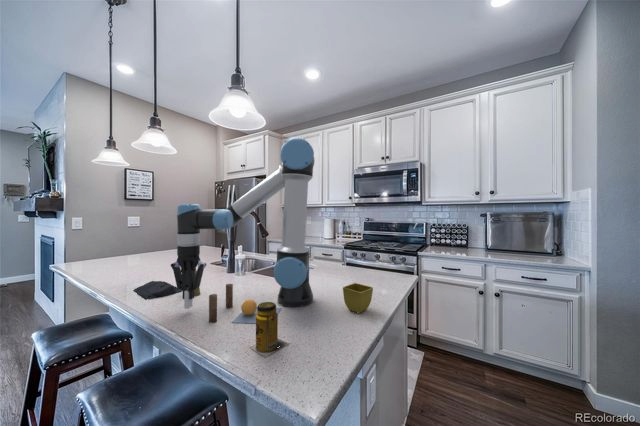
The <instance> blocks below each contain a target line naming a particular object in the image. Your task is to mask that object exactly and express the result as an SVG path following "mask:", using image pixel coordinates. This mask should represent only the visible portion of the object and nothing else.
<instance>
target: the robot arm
mask: <svg viewBox="0 0 640 426" xmlns="http://www.w3.org/2000/svg"><path fill="white" fill-rule="evenodd" d="M279 153H280V160H281V164H280V165H279V166H278V169H277V170H275V171H273V173H271V174H270V175H269V176H268V177H266V178H265V179H263V180H262V181H261V182H259V183H258V184H256V186H254V187H253V188H251V189H250V190H249V191H248V192H246V193H245V194H244V195H242V196H241V197H240V198H238V199H237V200H236V201H234V202H233V203H232V204H230V205H229V206H228V207H226V208H225V209H224V208H222V209H221V208H219V209H217V208H216V209H215V208H213V209H202V208H201V205H200V204H199V203H196V204H195V203H180V204H179V205H178V206H177V215H176V218H177V235H176V236H177V237H176V244H177V246H176V254H177V255H176V256H177V258H176V261H175V262H173V263H171V264H170V267H171V268H172V270H173V275H174V279H175V285H176V287H177V288H178V289H181V290H182V299H183V300H184V302H183V303H184V307H183V308H184V309H186V310H189V309H191V308H192V307H193V301H194V300H193V299H194V298H195V297H194V290H195V289H197V288H200V286H201V283H202V282H201V281H202V278H203V273H204V269H205V268H206V266H207V263H206V262H202V261H201V258H200V254H201V252H200V251H201V245H199V244H200V243H201V242H200V241H201V240H200V239H201V237H200V236H201V235H200V233H201V230H219V231H220V230H229V229H231V228H233V227H237V225H238V224H239V223H240V221H242V220H243V219H244V218H246V216H248V215H249V214H251V213H252V212H253V211H255V210H256V209H258V208H259V207H260V206H261V205H263V204H264V203H266V202H267V201H268V200H269V199H271V198H272V197H274V196H275V195H276V194H278V193H279V192H281V190H283V189H284V193H283V195H284V196H283V213H282V214H283V215H282V216H283V217H282V230H281V231H282V232H281V244H280V246H278V248H276V262H275V265H274V268H273V278H274V280H275V281H276V284H278V285H279V286H280V288H279V291H278V295H277V303H278V304H279V305H280V306H283V307H289V308H300V307H304V306H308V305H310V304H312V303H313V302H312V301H314V294H313V293H314V292H313V291H312V287H311V284H310V249H309V248H308V247H306V244H305V243H306V224H307V212H308V211H307V208H308V193H309V182H310V181H312V179H313V177H314V175H313V172H314V165H315V157H314V156H315V152H314V148H313V146H312V145H311V144H310V143H309V142H308V141H307V140H306V139H304V138H301V137H300V138H299V137H293V138H290V139H288V140H287V141H285V142H284V143H283V144H282V146H281V149H280V152H279ZM196 270H197V273H196V277H195V271H196Z"/></svg>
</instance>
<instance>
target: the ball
mask: <svg viewBox="0 0 640 426" xmlns="http://www.w3.org/2000/svg"><path fill="white" fill-rule="evenodd" d="M257 306H258V305H257V302H256V301H255V300H253V299H246V300H245V301H243V302H242V304H241V307H240V309H241V312H243V314H245V315H252V314H253V313H254V312H255V311H256V309H257Z"/></svg>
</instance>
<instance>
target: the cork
mask: <svg viewBox="0 0 640 426" xmlns="http://www.w3.org/2000/svg"><path fill="white" fill-rule="evenodd" d="M196 273H197V269H196V271H195V277H196ZM200 295H201V289H200V287H199V288H197V289H195V290H194V298H195V297H197V296H200Z"/></svg>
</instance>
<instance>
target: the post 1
mask: <svg viewBox="0 0 640 426" xmlns="http://www.w3.org/2000/svg"><path fill="white" fill-rule="evenodd" d="M217 321H218V294H217V293H212V294H209V295H208V322H209V323H210V324H213V323H216V322H217Z"/></svg>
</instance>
